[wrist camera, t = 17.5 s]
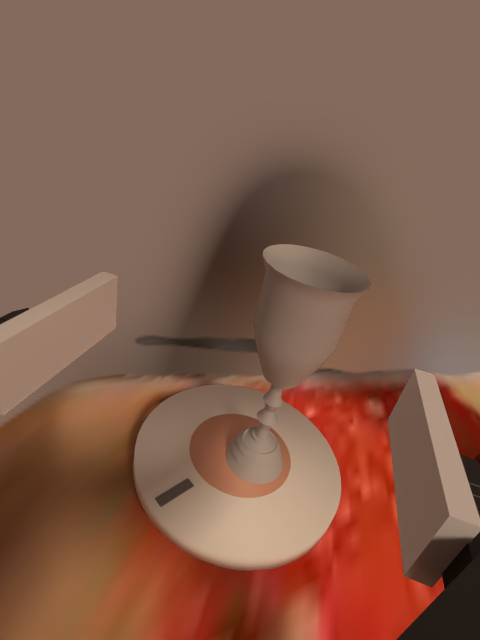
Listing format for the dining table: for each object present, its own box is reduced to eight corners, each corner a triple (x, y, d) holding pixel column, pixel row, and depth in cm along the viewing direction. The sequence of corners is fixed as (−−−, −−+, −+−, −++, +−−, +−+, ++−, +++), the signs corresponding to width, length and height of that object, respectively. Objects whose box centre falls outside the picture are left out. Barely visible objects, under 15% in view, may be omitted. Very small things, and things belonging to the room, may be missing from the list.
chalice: (206, 429, 34) (247, 240, 25) (274, 423, 36) (333, 248, 28) (228, 503, 28) (291, 290, 19) (307, 490, 30) (394, 295, 22)
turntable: (240, 376, 45) (242, 365, 44) (372, 485, 34) (378, 473, 34) (93, 439, 32) (94, 425, 32) (231, 636, 22) (236, 623, 21)
